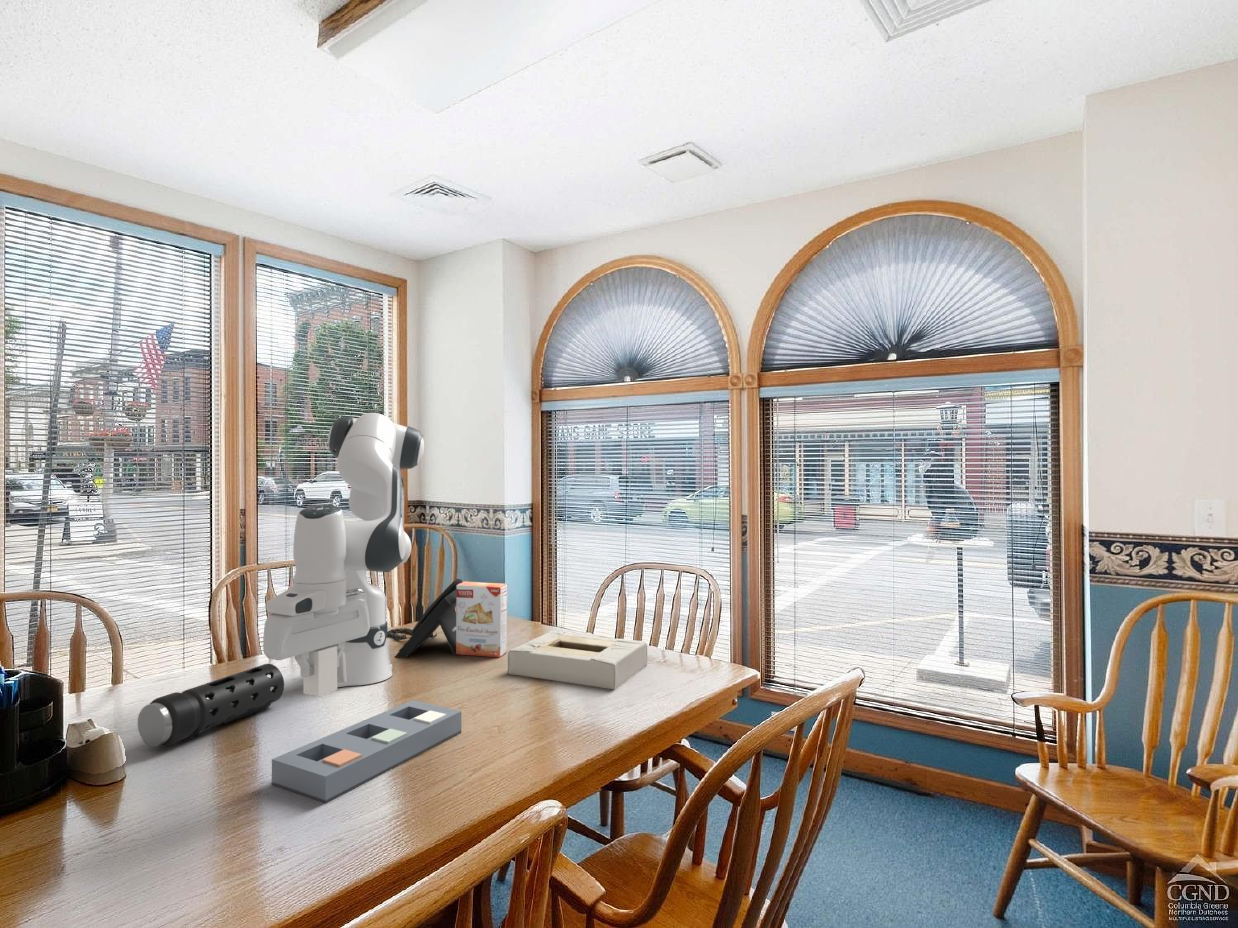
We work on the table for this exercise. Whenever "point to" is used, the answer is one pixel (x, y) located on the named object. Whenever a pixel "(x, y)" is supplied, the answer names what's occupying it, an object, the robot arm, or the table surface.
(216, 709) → the muzzle brake
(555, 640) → the box
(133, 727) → the table surface
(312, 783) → the socket block
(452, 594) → the office phone
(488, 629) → the cracker box
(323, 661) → the plug
